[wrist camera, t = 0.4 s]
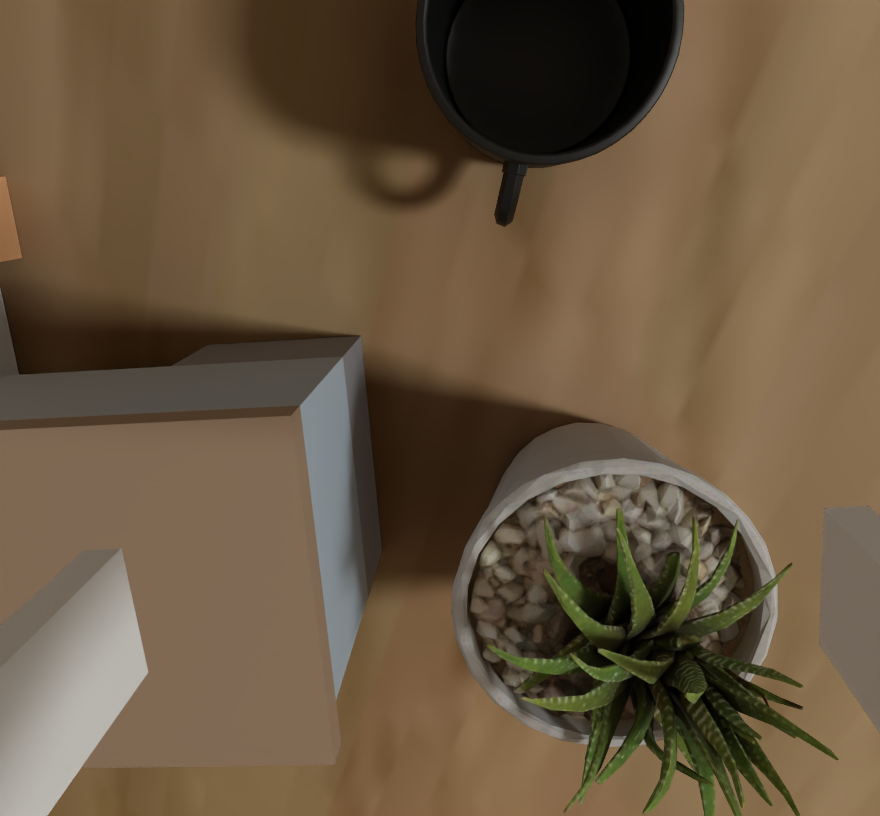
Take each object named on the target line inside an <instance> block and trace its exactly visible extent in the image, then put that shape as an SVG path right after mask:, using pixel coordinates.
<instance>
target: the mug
mask: <svg viewBox="0 0 880 816" xmlns="http://www.w3.org/2000/svg"><path fill="white" fill-rule="evenodd" d="M683 24H684V1H683V0H418V3H417V12H416V45H417V50H418V56H419V61H420V65H421V69H422V72H423V75H424V78H425V81H426V84H427V86H428V88H429V90H430V92H431V94H432V96H433V98H434V100H435V102H436V103H437V105H438V107H439V108H440V110H441V111H442V112H443V114H444V115H445V117H446V118H447V119H448V121H449V122H450V123H451V124H452V125H453V126H454V128H455V129H456V130H457V131H458V132H459V133H460V134H461V135H462V136H463V137H464V138H465V139H466V140H467V141H468V142H469V143H470V144H471V145H472V146H473V147H475V148H476V149H477V150H479V151H480V152H482V153H483V154H485V155H487V156H489V157H491V158H493V159H495V160H497V161H499V162H502V163H504V164H503V169H502V172H504V174H503V178H502V183H501V187H500V191H499V196H498V200H497V205H496V209H495V214H494V215H495V219H496V223H497V224H499V225H501V226H504V227H505V226H507V225H508V224H510V223H511V222H512V221H513V218H514V214H515V210H516V206H517V202H518V198H519V194H520V190H521V185H522V181H523V177H524V176H526V172H527V168H545V167H550V166H555V165H560V164H565V163H569V162H574V161H577V160H581V159H584V158H586V157H589V156H592V155H595V154H597V153H599V152H601V151H603V150H604V149H606V148H608V147H610V146H612V145H613V144H615V143H616V142H618V141H619V140H620V139H622V138H623V137H624V136H626V135H627V134H628V133H630V132H631V131H632V130H633V129H634V128H635V127H636V126H637V125H638V124H639V123H640V122H641V121H642V120H643V119H644V118H645V116H646V115H647V114H648V113H649V112H650V110H651V109H652V108H653V106H654V105H655V103H656V102H657V101H658V99H659V98H660V96H661V95H662V93H663V91H664V89H665V87H666V85H667V83H668V81H669V79H670V77H671V74H672V72H673V69H674V66H675V64H676V61H677V58H678V55H679V50H680V45H681V40H682V34H683Z"/></svg>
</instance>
